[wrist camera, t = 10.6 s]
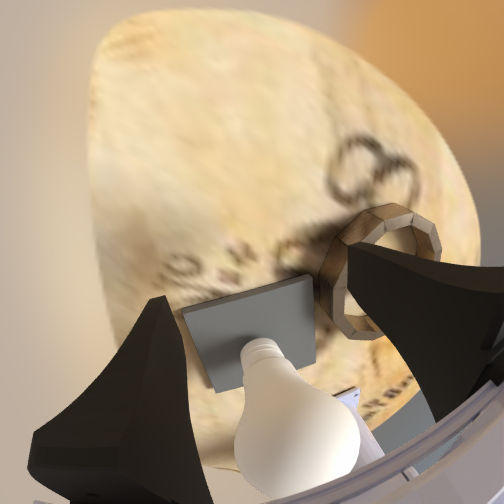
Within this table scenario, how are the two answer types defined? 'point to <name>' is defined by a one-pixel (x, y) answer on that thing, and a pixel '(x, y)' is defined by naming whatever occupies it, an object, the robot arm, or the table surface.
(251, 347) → the lightbulb
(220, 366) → the mat
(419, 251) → the collar
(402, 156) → the table surface
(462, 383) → the robot arm
